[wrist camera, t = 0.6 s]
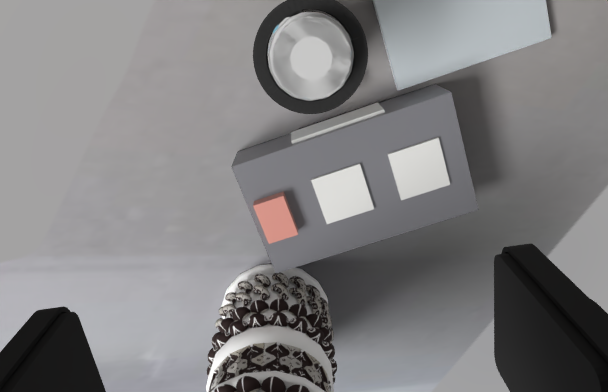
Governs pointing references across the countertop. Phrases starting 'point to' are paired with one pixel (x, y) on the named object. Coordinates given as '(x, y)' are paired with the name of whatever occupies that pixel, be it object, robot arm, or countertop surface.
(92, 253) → the countertop surface
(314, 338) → the decorative candle
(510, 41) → the pale blue mat
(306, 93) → the push button
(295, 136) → the power strip
